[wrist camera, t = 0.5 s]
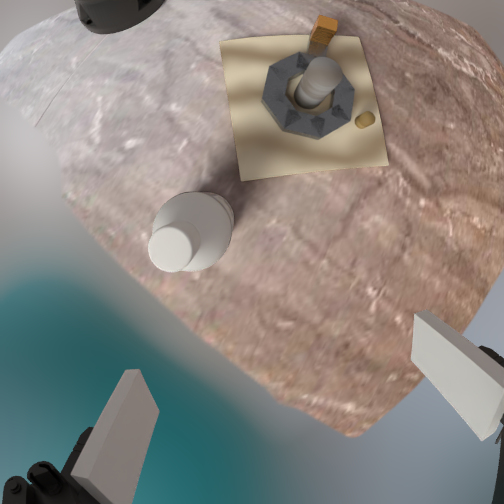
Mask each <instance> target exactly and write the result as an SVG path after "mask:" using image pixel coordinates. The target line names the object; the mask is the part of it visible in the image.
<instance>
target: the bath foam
mask: <svg viewBox="0 0 504 504" xmlns="http://www.w3.org/2000/svg"><path fill="white" fill-rule="evenodd" d="M233 226H234V214H233V211H232V208H231V206H230V205H229V203H228V202H227V201H226V200H225V199H224V198H223V197H221V196H220V195H217V194H215V193H210V192H185V193H181V194H179V195H176V196H174V197H173V198H171V199H170V200H168V201H167V202H166V203H165V204H164V205H163V206H162V207H161V209H160V210H159V212H158V213H157V215H156V218H155V220H154V224H153V234H152V236H151V238H150V240H149V244H148V252H149V256H150V258H151V260H152V262H153V263H154V264H155V265H156V266H157V267H158V268H159V269H161V270H163V271H167V272H177V271H180V270H183V271H198V270H202V269H205V268H208V267H210V266H211V265H213V264H214V263H216V262H217V261H218V260H219V259H220V258H221V257H222V256H223V254H224V253H225V251H226V250H227V248H228V247H229V246H228V245H229V244H230V240H231V235H232V231H233Z"/></svg>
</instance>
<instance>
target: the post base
mask: <svg viewBox="0 0 504 504" xmlns="http://www.w3.org/2000/svg"><path fill="white" fill-rule="evenodd" d="M308 41H309V35H278V36H263V37H251V38H242V39H233V40H226V41H219V44H220V50H221V57H222V63H223V70H224V76H225V82H226V89H227V95H228V101H229V108H230V114H231V121H232V127H233V133H234V140H235V146H236V153H237V159H238V165H239V172H240V178H241V182H243V181H250V180H257V179H264V178H271V177H278V176H286V175H294V174H302V173H311V172H320V171H330V170H341V169H352V168H365V167H379V166H389V164H388V158H387V151H386V145H385V139H384V134H383V128H382V123H381V118H380V114H379V109H378V104H377V100H376V96H375V92H374V88H373V84H372V80H371V76H370V72H369V69H368V65H367V62H366V58H365V55H364V52H363V49H362V45H361V42H360V39H359V37H352V36H337V35H334V36H333V38H332V39H331V41H330V43H329V44H328V48H327V54H326V57H317V58H315V59H313V60H312V61H311V62H310V64H309V66H308V67H307V69H306V71H305V73H304V75H303V74H302V75H300V76H298V77H296V78H294V79H292V80H290V81H288V82H287V87H286V92H285V96H286V97H287V98H288V100H289V101H290V102H291V104H292V105H293V106H294V108H295V109H296V111H299V112H303V113H307V114H310V115H314V116H318V115H320V114H321V113H323V112H325V111H327V110H329V106H330V99H331V93H330V92H331V91H332V90H333V89H334V88H335V87H336V86H337V85H338V84H339V83H340V82H341V80H342V77H343V74H344V75H345V77H346V78H347V79H348V81H349V82H350V83H351V85H352V86H353V88H354V89H355V93H354V100H353V108H352V115H351V121H350V122H348V123H347V124H345V125H343V126H342V127H340V128H338V129H336V130H335V131H333V132H331V133H330V134H328V135H326V136H324V137H323V138H321V139H319V140H316V139H312V138H308V137H304V136H300V135H296V134H292V133H288V132H283V131H282V130H281V129H280V127H279V126H278V125H277V123H276V122H275V120H274V119H273V118H272V116H271V115H270V113H269V112H268V111H267V109H266V108H265V107H264V105H263V104H262V103H261V100H262V95H263V91H264V86H265V82H266V77H267V73H268V68H269V66H270V65H272V64H274V63H276V62H278V61H280V60H282V59H284V58H286V57H289V56H291V55H293V54H295V53H297V52H303V53H306V52H307V46H308Z"/></svg>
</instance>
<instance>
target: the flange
mask: <svg viewBox="0 0 504 504" xmlns="http://www.w3.org/2000/svg"><path fill="white" fill-rule="evenodd" d="M337 25H338V20H335V19H332V18H329V17H325V16H322V15H319V16H318V18H317V20H316V22H315V24H314V26H313V29H312V31H311V33H310V35H309V41H308V46H307V52H306V53H303V52H297V53H295V54H293V55H291V56H289V57H286V58H284V59H282V60H280V61H278V62H276V63H274V64H272V65H270V66H269V68H268V73H267V77H266V82H265V86H264V91H263V95H262V100H261V103H262V104H263V105H264V107H265V108H266V109H267V111H268V112H269V113H270V115H271V116H272V118H273V119H274V120H275V122H276V123H277V125H278V126H279V127H280V129H281V130H282V131H283V132H288V133H292V134H296V135H300V136H304V137H308V138H312V139H316V140H319V139H321V138H323V137H324V136H326V135H328V134H330V133H331V132H333V131H335V130H336V129H338V128H340V127H342V126H343V125H345V124H347V123H348V122H350V121H351V115H352V108H353V100H354V93H355V89H354V88H353V86H352V85H351V83H350V82H349V81H348V79H347V78H346V77H345V75H344V74H343V77H342V80H341V82H340V83H339V84H338V85H337V86H336V87H335V88H334V89H333V90H332V91H331V92H330V93H331V99H330V106H329V110H327V111H325V112H323V113H321V114H320V115H318V116H314V115H310V114H307V113H303V112H299V111H296V109H295V108H294V106H293V105H292V104H291V102H290V101H289V100H288V98H287V97H286V96H285V92H286V87H287V82H288V81H290V80H292V79H294V78H296V77H298V76H300V75H302V74H303V75H304V73H305V71H306V69H307V67H308V66H309V64H310V62H311V61H312V60H313V59H315V58H317V57H326V54H327V48H328V44H329V43H330V41H331V39H332V38H333V36H334V35H335V33H336V32H337Z"/></svg>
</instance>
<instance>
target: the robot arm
mask: <svg viewBox="0 0 504 504" xmlns="http://www.w3.org/2000/svg"><path fill="white" fill-rule="evenodd" d="M163 1H164V0H75V4H76V8H77V12H78V16H79V19H80V21H81V23H82V24H83V25H84V26H85V27H86V28H87V29H88V30H90V31H91V32H93V33H97V34H111V33H116V32H119V31H123V30H125V29H128V28H130V27H132V26H134V25H136V24H138V23H140V22H141V21H143V20H144V19H146V18H147V17H149V16H150V15H151V14H152V13H154V12H155V11H156V10H157V9H158V8H159V7H160V5H161V4H162V3H163ZM411 360H412V362H413V363H414V364H415V365H416V366H417V367H418V368H419V369H420V370H421V371H422V373H423V374H424V375H425V376H426V377H427V378H428V379H429V380H430V381H431V383H432V384H433V385H434V386H435V387H436V388H437V389H438V390H439V392H440V393H441V394H442V395H443V396H444V397H445V398H446V400H447V401H448V402H449V403H450V404H451V405H452V406H453V407H454V409H455V410H456V411H457V412H458V413H459V415H460V416H461V417H462V418H463V419H464V420H465V422H466V423H467V424H468V425H469V426H470V427H471V429H472V430H473V431H474V432H475V433H476V435H477V436H478V437H479V439H480V440H481V441H483V440H484V439H486V438H487V437H489V436H490V435H491V434H493V433H494V432H495V431H496V429H497V427H498V425H499V423H500V422H501V423H502V424H503V425H504V358H503V357H501V356H499V354H497V353H496V352H495V351H493V350H492V349H490V348H487V347H484V346H480V347H477V346H475V345H474V344H473V343H471V342H470V341H469V340H467V339H466V338H465V337H464V336H462V335H461V334H460V333H458V332H457V331H456V330H454V329H453V328H452V327H450V326H449V325H448V324H446V323H445V322H443V321H442V320H441V319H439V318H438V317H437V316H435V315H434V314H433V313H431V312H430V311H428V310H427V309H426V310H423V311H421V312H418V313H415V314H414V330H413V343H412V354H411ZM158 413H159V410H158V408H157V406H156V404H155V402H154V399H153V397H152V395H151V393H150V391H149V389H148V387H147V385H146V383H145V380H144V378H143V376H142V374H141V372H140V369H134V370H125V372H124V374H123V376H122V377H121V379H120V381H119V383H118V384H117V386H116V388H115V390H114V392H113V393H112V395H111V397H110V399H109V401H108V402H107V404H106V406H105V408H104V410H103V412H102V414H101V416H100V417H99V419H98V421H97V423H96V425H95V427H88V428H87V429H86V430H85V431H84V432H83V433H82V434H81V435H80V437H79V439H78V441H77V445H75V447H74V448H73V451H72V452H71V454H70V456H69V458H68V460H67V462H66V463H65V465H64V467H63V469H62V471H61V473H59V471H58V470H57V469H56V468H55V467H54V466H53V465H52V464H51V463H49V462H46V461H42V462H37V463H36V464H34V465H32V467H31V468H30V469H29V471H28V473H27V479H28V480H29V481H30V482H32V484H29V483H28V482H27V481H26V480H25V479H24V478H22V477H21V476H13V477H11V478H9V479H8V480H7V482H6V483H5V486H4V491H3V500H2V504H132V501H133V497H134V493H135V490H136V486H137V482H138V479H139V476H140V472H141V469H142V466H143V462H144V459H145V456H146V452H147V449H148V446H149V442H150V439H151V436H152V433H153V429H154V426H155V423H156V420H157V417H158ZM500 438H501V448H500V459H499V466H498V473H497V479H496V485H495V491H494V496H493V501H492V504H504V426H503V428H502V430H501V432H500V434H499V436H498V438H497V439H496V443H495V444H497V443H498V442H499V440H500Z"/></svg>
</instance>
